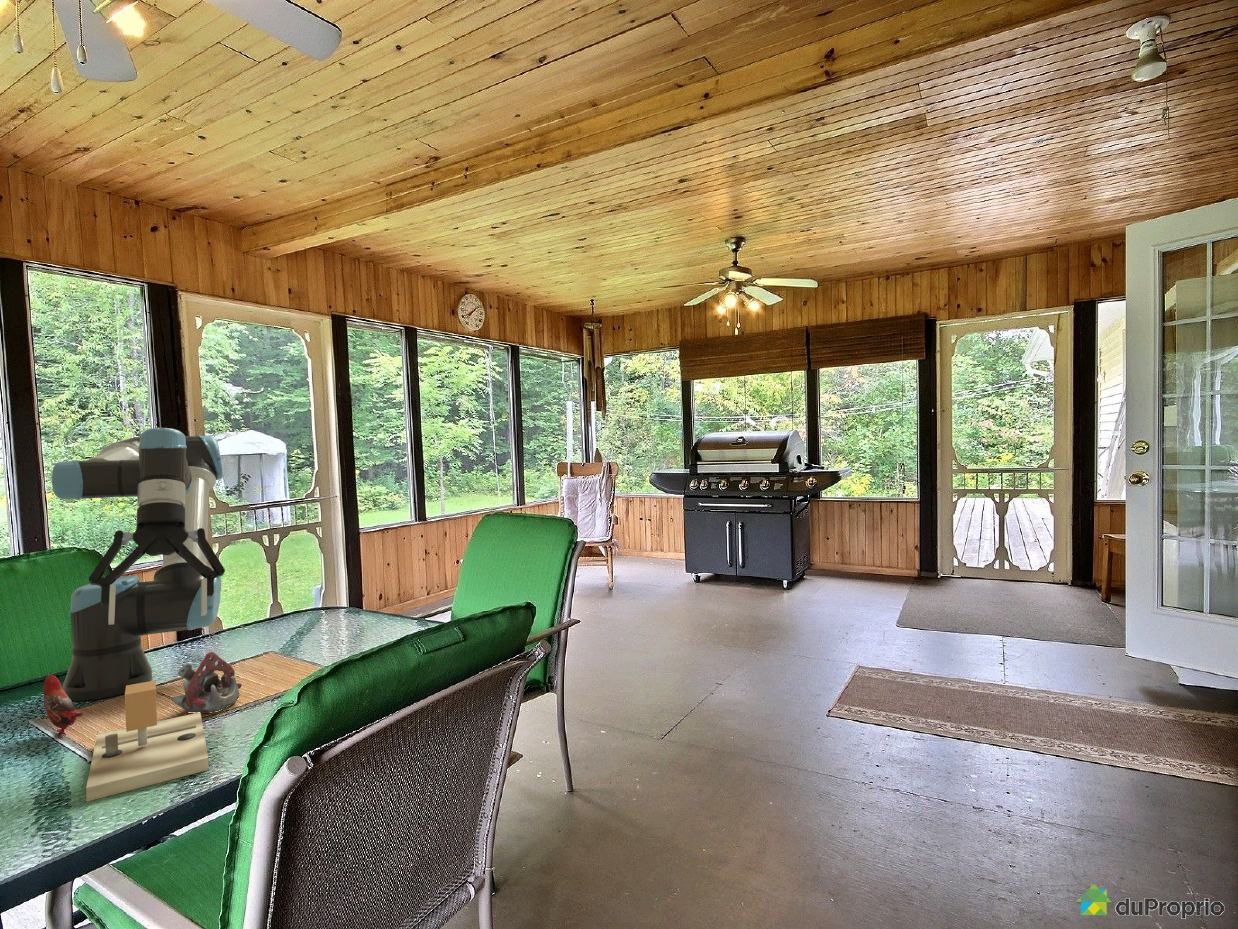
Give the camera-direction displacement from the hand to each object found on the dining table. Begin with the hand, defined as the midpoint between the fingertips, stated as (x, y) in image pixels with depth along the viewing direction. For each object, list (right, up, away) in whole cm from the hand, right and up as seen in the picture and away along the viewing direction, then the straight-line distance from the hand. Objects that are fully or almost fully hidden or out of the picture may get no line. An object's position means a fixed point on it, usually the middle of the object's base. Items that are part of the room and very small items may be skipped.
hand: (159, 618), depth 116 cm
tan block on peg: (+4, -18, -10) cm, 21 cm away
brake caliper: (+2, -21, +12) cm, 24 cm away
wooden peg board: (+5, -21, -9) cm, 23 cm away
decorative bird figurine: (-16, -21, -1) cm, 27 cm away
